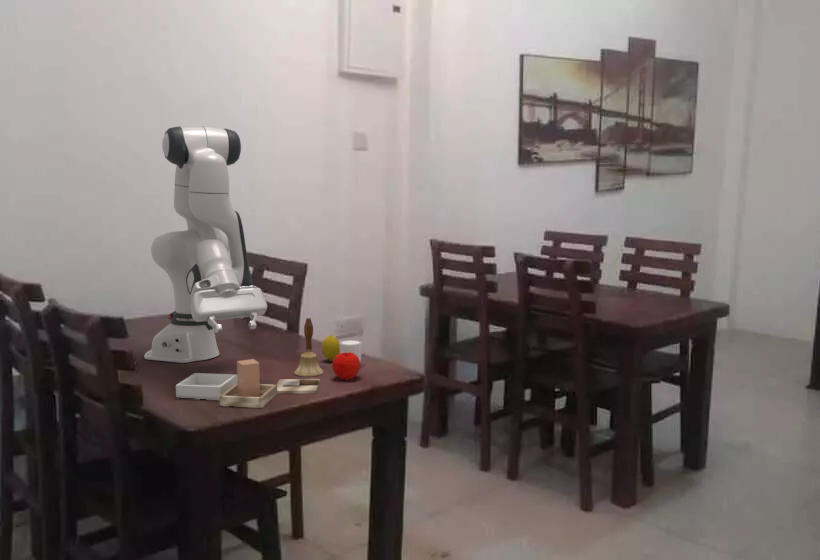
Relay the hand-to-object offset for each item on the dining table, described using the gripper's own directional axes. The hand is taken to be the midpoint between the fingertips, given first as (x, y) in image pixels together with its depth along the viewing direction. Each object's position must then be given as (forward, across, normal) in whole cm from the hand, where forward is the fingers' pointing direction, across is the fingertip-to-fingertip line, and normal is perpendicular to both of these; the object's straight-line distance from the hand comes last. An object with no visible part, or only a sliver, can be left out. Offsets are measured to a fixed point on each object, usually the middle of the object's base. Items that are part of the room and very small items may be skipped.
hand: (236, 329), depth 221 cm
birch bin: (+20, +1, -3) cm, 20 cm away
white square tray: (+11, +8, -12) cm, 18 cm away
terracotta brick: (+20, +1, -3) cm, 20 cm away
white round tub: (+8, -37, -15) cm, 40 cm away
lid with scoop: (+17, -14, -6) cm, 22 cm away
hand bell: (+8, -23, -14) cm, 28 cm away
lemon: (+2, -34, -20) cm, 40 cm away
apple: (+16, -29, -6) cm, 34 cm away
